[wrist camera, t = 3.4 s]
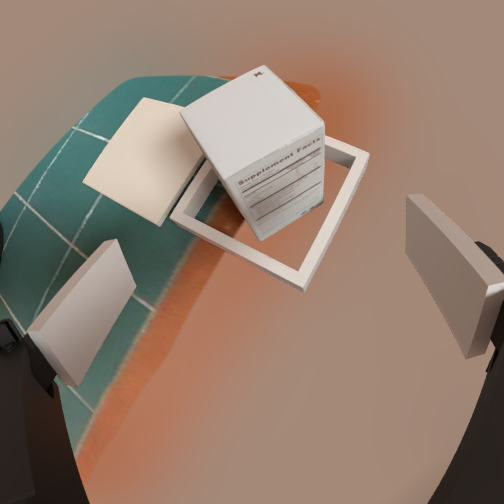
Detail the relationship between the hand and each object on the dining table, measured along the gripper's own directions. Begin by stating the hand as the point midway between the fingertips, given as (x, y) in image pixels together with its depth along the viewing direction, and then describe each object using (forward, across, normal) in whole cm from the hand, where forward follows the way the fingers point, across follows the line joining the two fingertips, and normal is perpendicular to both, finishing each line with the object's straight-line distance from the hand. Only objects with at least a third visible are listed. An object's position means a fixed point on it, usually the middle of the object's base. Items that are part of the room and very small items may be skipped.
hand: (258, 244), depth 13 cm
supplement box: (+18, 0, -4) cm, 18 cm away
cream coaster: (+24, -14, +2) cm, 27 cm away
